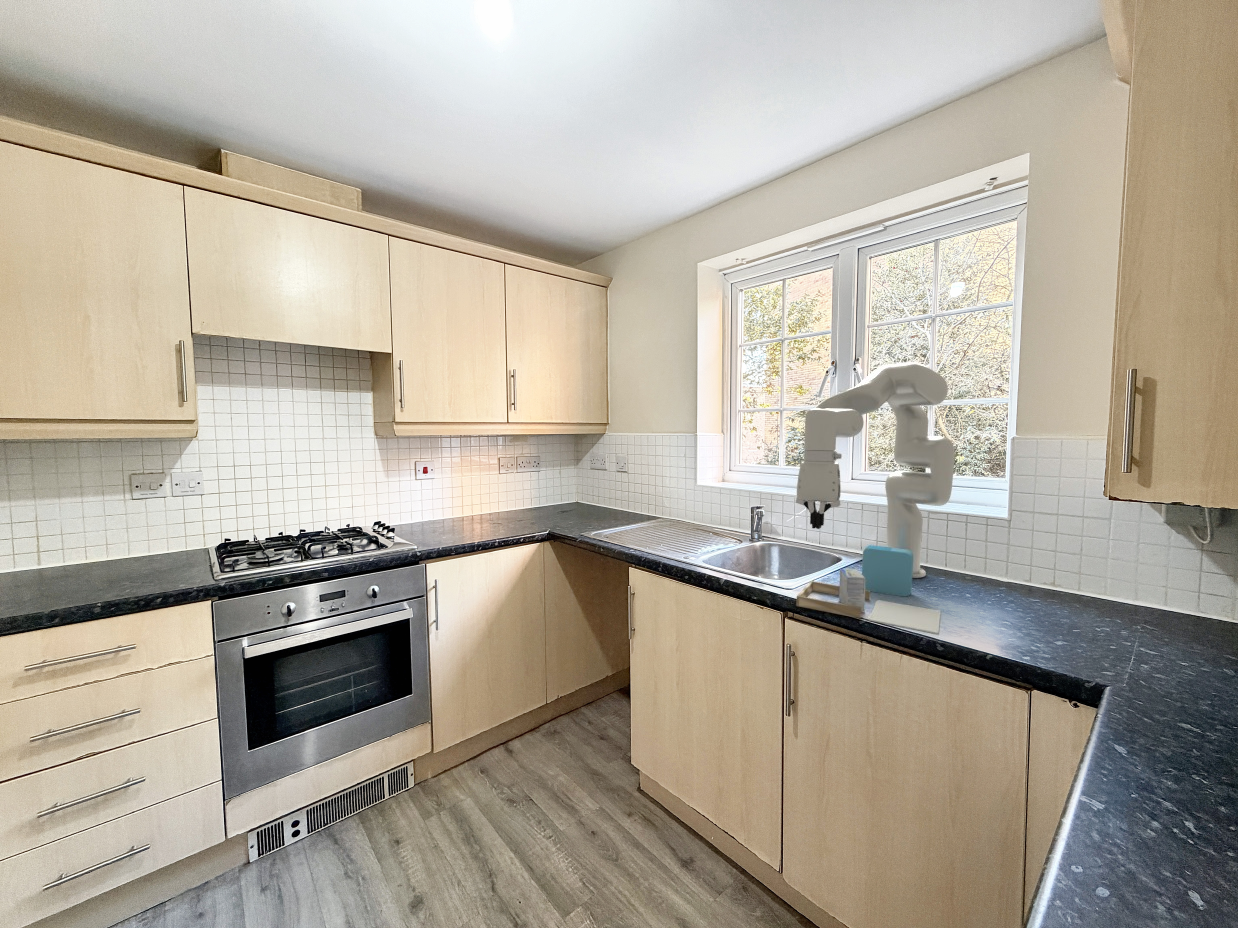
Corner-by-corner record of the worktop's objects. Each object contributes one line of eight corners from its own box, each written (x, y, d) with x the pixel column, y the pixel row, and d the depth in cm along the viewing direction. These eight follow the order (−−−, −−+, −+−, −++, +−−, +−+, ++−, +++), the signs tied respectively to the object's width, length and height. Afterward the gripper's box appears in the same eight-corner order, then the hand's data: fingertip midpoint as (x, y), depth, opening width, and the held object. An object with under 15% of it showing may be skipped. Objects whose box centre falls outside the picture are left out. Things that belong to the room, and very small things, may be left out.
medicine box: (864, 612, 126) (866, 578, 126) (845, 611, 127) (846, 576, 127) (856, 601, 134) (858, 569, 133) (838, 600, 135) (839, 567, 134)
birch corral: (810, 589, 143) (811, 580, 143) (869, 600, 135) (870, 590, 135) (796, 605, 131) (796, 596, 131) (860, 618, 123) (861, 608, 122)
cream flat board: (877, 600, 135) (877, 599, 135) (940, 611, 127) (940, 610, 127) (868, 620, 121) (868, 619, 121) (938, 634, 114) (938, 632, 114)
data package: (911, 593, 141) (913, 550, 140) (910, 598, 137) (912, 553, 136) (863, 585, 148) (865, 544, 147) (861, 589, 144) (862, 547, 143)
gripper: (853, 457, 132) (850, 528, 133) (793, 455, 140) (791, 522, 141) (848, 459, 125) (845, 533, 127) (785, 456, 134) (783, 526, 135)
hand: (816, 527), depth 134 cm, fingers closed
